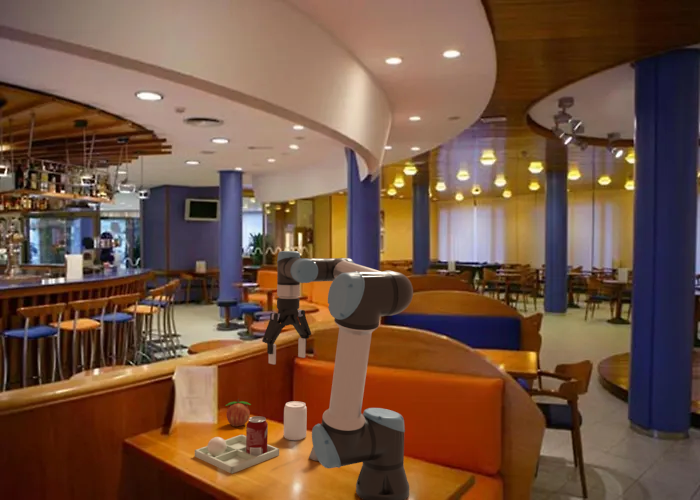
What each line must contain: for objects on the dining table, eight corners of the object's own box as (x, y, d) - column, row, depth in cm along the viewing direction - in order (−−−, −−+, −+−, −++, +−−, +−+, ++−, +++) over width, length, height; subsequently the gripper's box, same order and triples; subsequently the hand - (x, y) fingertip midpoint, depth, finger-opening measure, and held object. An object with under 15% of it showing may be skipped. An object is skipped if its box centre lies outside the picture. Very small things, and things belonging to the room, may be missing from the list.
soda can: (262, 460, 176) (263, 423, 175) (242, 458, 177) (243, 421, 177) (270, 452, 182) (270, 416, 182) (250, 450, 184) (251, 414, 183)
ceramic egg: (230, 455, 179) (230, 437, 179) (214, 461, 175) (214, 442, 174) (218, 450, 183) (219, 432, 183) (203, 456, 178) (203, 437, 178)
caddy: (279, 457, 180) (279, 448, 180) (231, 476, 166) (232, 467, 166) (241, 443, 193) (241, 434, 193) (194, 459, 178) (194, 450, 178)
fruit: (248, 429, 207) (248, 402, 206) (222, 429, 206) (223, 402, 206) (251, 421, 215) (252, 395, 215) (227, 421, 215) (227, 395, 215)
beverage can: (280, 435, 201) (281, 402, 201) (301, 432, 205) (302, 399, 204) (287, 442, 194) (288, 408, 194) (309, 439, 197) (310, 406, 197)
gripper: (306, 293, 197) (305, 353, 197) (251, 299, 178) (251, 364, 178) (322, 295, 192) (321, 356, 193) (267, 301, 173) (266, 368, 173)
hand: (287, 360), depth 185 cm, fingers open, 13 cm apart
